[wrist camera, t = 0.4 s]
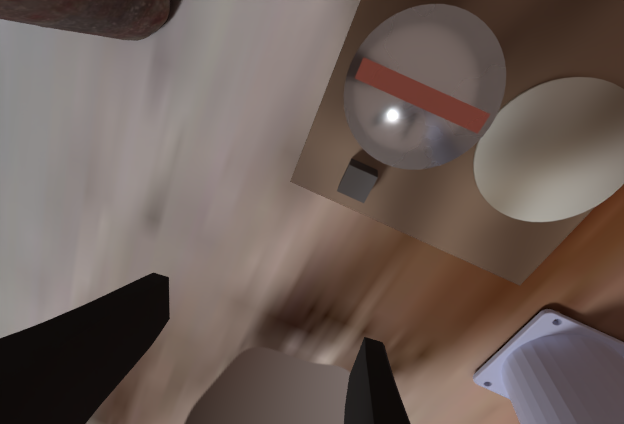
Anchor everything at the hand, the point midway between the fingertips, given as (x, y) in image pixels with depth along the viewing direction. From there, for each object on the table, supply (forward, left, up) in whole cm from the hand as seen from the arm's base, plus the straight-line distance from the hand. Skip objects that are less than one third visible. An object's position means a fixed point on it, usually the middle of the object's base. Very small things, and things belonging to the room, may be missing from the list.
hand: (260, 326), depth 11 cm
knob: (-1, -9, -7) cm, 11 cm away
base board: (-5, -9, -10) cm, 15 cm away
